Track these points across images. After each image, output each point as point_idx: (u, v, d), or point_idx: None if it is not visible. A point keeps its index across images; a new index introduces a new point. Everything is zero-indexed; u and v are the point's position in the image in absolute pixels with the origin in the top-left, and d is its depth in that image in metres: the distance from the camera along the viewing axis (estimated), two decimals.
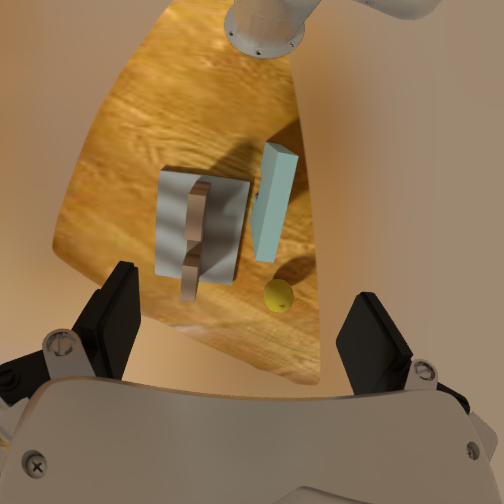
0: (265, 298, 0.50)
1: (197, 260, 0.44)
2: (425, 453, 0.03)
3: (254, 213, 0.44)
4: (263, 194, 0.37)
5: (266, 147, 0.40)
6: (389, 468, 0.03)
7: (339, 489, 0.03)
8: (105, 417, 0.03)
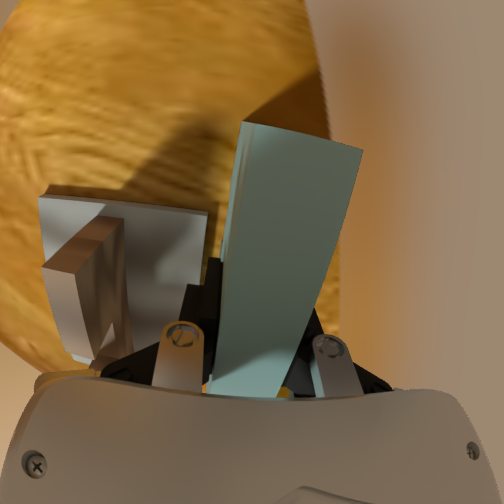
0: None
1: None
2: (425, 453, 0.03)
3: None
4: None
5: (240, 132, 0.15)
6: (389, 468, 0.03)
7: (339, 489, 0.03)
8: (105, 417, 0.03)
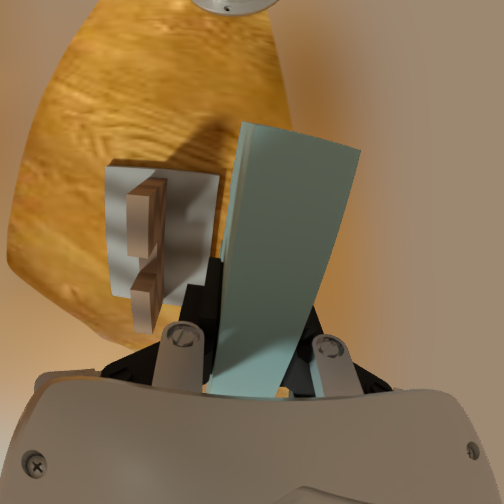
0: None
1: (151, 282, 0.32)
2: (425, 453, 0.03)
3: None
4: None
5: (240, 132, 0.16)
6: (389, 468, 0.03)
7: (340, 489, 0.03)
8: (105, 417, 0.03)
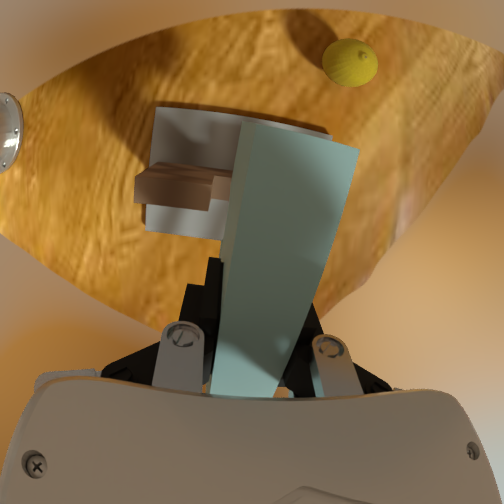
0: (351, 83, 0.22)
1: None
2: (425, 453, 0.03)
3: None
4: None
5: (241, 132, 0.16)
6: (389, 468, 0.03)
7: (340, 489, 0.03)
8: (105, 417, 0.03)
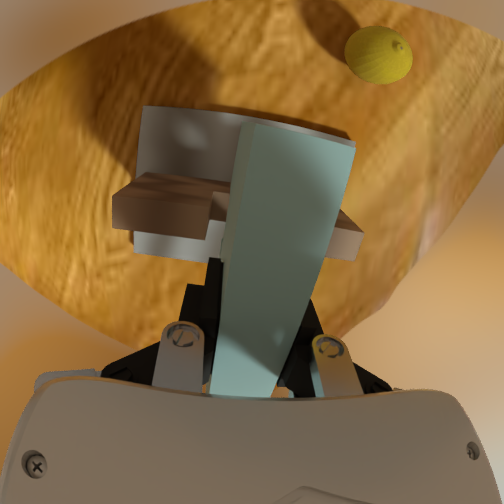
0: (381, 79, 0.17)
1: None
2: (425, 453, 0.03)
3: None
4: None
5: (241, 131, 0.16)
6: (389, 468, 0.03)
7: (339, 489, 0.03)
8: (105, 417, 0.03)
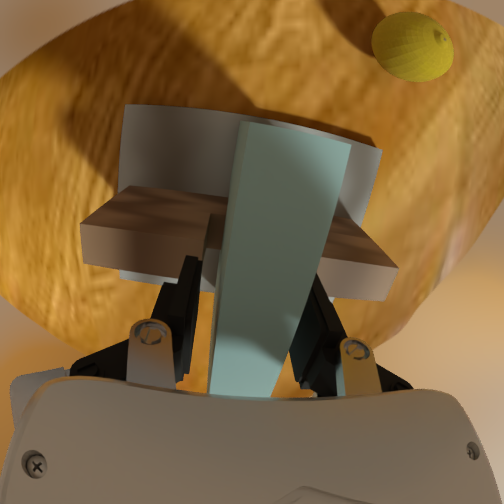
0: (418, 75, 0.13)
1: None
2: (425, 453, 0.03)
3: None
4: (220, 269, 0.12)
5: None
6: (389, 468, 0.03)
7: (340, 489, 0.03)
8: (105, 417, 0.03)
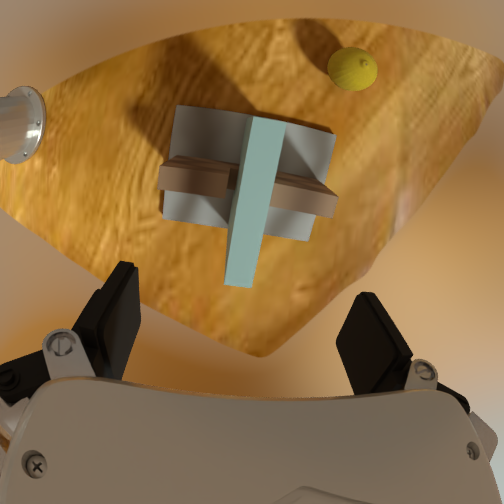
0: (353, 87, 0.25)
1: None
2: (425, 453, 0.03)
3: None
4: (237, 186, 0.25)
5: None
6: (389, 468, 0.03)
7: (339, 489, 0.03)
8: (105, 417, 0.03)
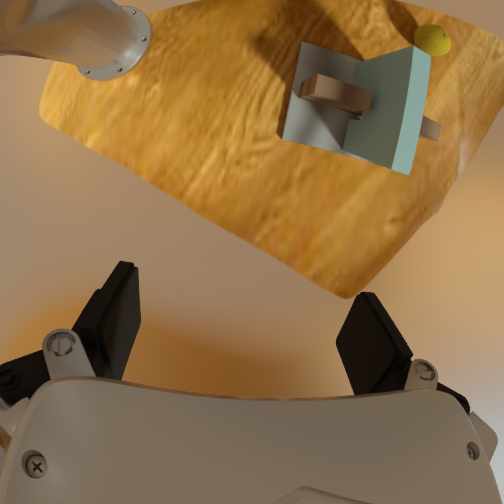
0: (436, 52, 0.25)
1: None
2: (425, 453, 0.03)
3: (357, 134, 0.32)
4: (384, 100, 0.25)
5: (367, 64, 0.28)
6: (389, 468, 0.03)
7: (339, 489, 0.03)
8: (105, 417, 0.03)
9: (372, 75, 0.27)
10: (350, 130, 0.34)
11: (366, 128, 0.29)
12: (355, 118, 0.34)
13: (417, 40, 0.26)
